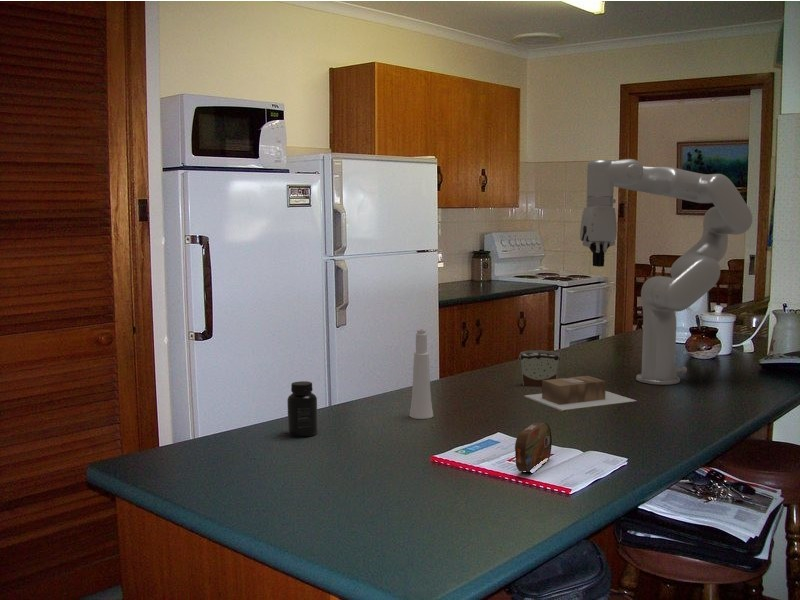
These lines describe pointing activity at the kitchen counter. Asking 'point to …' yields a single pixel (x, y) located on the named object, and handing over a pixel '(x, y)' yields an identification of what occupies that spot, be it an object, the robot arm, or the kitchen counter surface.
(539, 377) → the food container
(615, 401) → the grey mat
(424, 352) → the cosmetic bottle
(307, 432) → the supplement bottle
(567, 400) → the walnut block
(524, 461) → the tin
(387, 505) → the kitchen counter surface
